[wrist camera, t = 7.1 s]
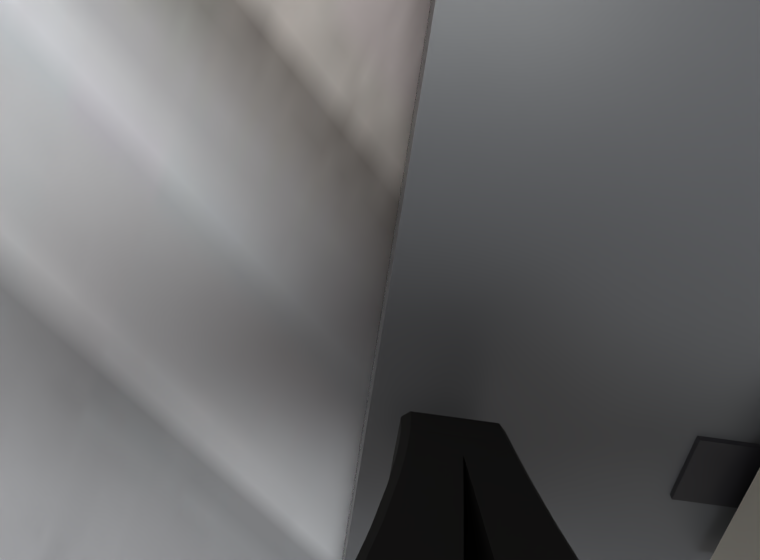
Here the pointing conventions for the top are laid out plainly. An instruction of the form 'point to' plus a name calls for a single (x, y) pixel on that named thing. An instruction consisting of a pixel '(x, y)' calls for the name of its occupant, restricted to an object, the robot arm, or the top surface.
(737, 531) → the middle tab
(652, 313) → the switch board
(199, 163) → the top surface
